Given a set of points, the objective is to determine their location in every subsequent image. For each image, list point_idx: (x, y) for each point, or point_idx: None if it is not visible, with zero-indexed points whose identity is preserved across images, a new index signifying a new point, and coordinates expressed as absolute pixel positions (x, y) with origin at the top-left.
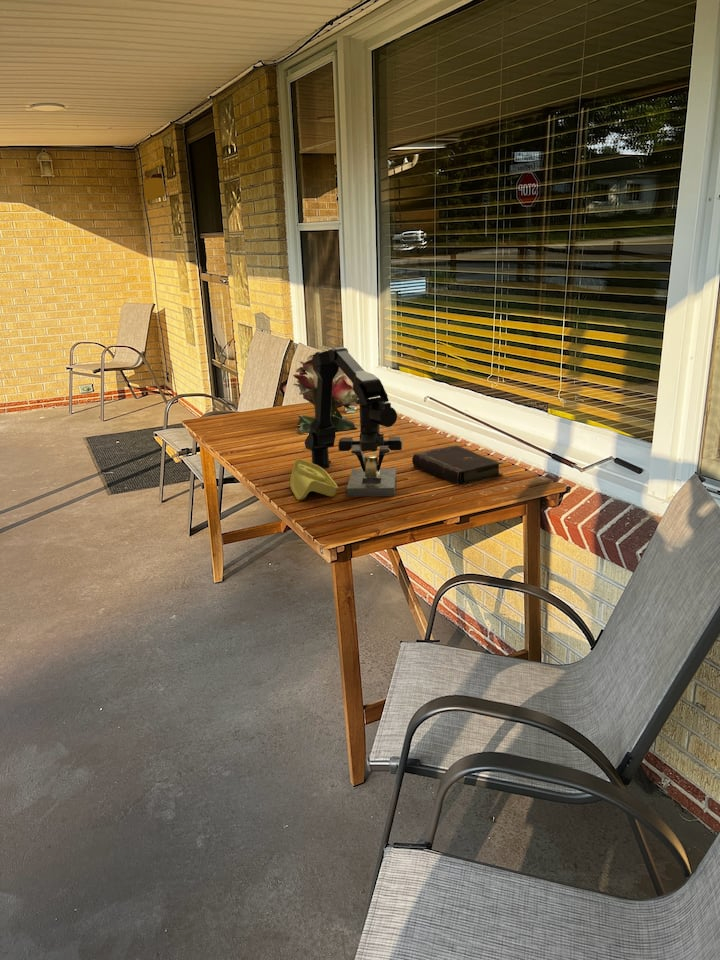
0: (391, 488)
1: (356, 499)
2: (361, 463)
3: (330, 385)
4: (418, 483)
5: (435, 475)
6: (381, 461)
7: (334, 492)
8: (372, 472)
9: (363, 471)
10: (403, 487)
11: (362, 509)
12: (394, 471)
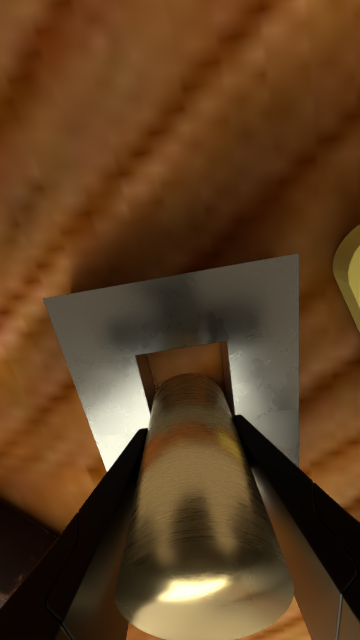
0: (58, 296)
1: (223, 223)
2: (286, 468)
3: None
4: (36, 440)
5: (12, 509)
6: (77, 516)
7: (349, 241)
8: (174, 399)
9: (240, 414)
10: (72, 396)
11: (160, 50)
12: None
